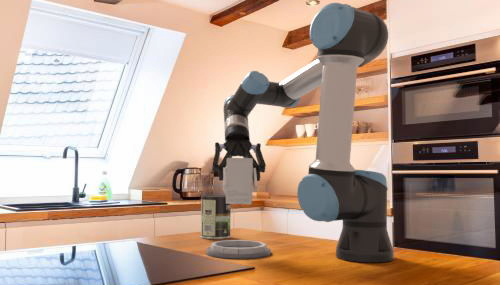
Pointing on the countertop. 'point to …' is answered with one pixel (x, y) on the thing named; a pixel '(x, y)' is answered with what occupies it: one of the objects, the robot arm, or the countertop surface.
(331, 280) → the countertop surface
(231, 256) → the collar plate
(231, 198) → the supplement box
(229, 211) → the coffee can
